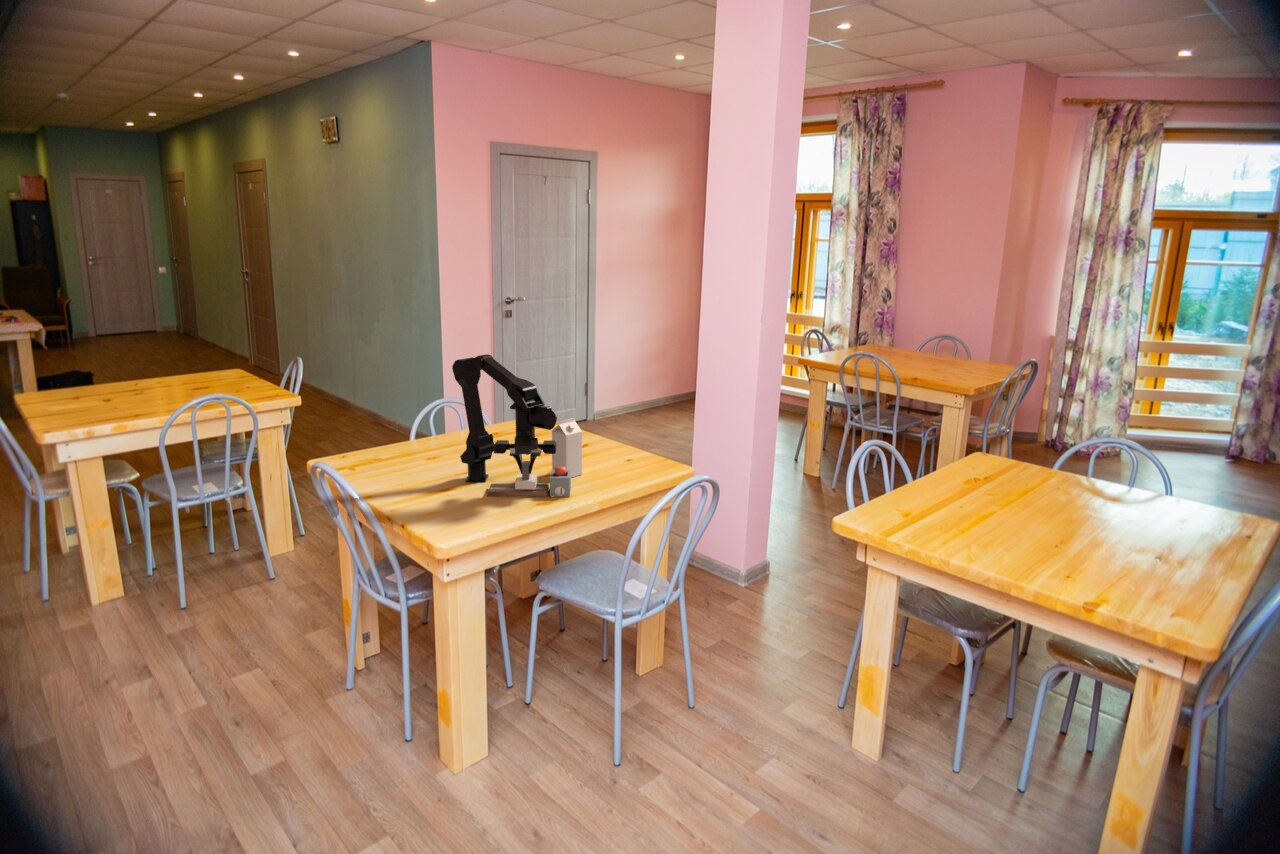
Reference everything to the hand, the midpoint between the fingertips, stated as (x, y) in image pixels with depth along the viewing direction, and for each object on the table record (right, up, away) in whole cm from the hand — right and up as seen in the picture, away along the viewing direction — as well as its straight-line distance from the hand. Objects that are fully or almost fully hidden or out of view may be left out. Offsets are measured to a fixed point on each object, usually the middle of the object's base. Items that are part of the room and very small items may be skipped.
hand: (526, 473), depth 234 cm
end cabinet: (+10, -6, +2) cm, 12 cm away
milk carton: (+11, -2, +19) cm, 22 cm away
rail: (-3, -6, +1) cm, 6 cm away
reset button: (+11, 0, 0) cm, 11 cm away
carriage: (0, -4, +1) cm, 4 cm away
